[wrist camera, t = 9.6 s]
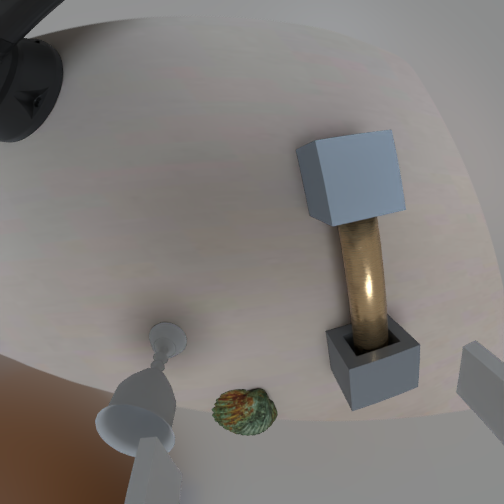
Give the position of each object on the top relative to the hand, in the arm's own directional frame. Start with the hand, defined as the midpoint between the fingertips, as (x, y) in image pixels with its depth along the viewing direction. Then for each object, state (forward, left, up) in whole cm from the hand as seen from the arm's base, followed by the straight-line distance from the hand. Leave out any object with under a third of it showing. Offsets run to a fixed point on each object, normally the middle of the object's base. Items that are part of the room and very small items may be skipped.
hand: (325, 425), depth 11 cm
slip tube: (+6, +11, -25) cm, 28 cm away
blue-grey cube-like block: (-8, +11, -28) cm, 31 cm away
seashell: (+23, -7, -29) cm, 37 cm away
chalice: (+8, -14, -28) cm, 33 cm away
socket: (+15, +11, -28) cm, 34 cm away
